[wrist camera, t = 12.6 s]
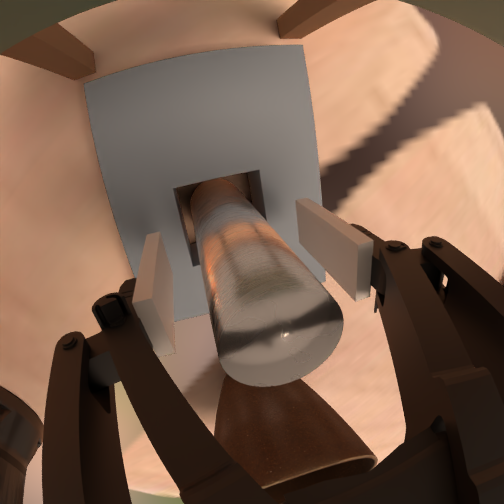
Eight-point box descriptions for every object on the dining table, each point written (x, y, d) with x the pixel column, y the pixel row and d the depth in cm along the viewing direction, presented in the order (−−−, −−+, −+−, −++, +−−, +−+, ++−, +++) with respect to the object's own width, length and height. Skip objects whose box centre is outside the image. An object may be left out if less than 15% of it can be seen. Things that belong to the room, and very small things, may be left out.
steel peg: (236, 173, 22) (345, 271, 8) (244, 221, 24) (340, 364, 10) (185, 185, 21) (202, 310, 7) (196, 232, 23) (232, 398, 9)
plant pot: (216, 318, 27) (259, 475, 13) (336, 338, 33) (408, 443, 18) (177, 407, 32) (195, 524, 17) (280, 414, 37) (319, 507, 23)
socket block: (306, 260, 27) (325, 281, 23) (156, 298, 25) (154, 326, 21) (282, 56, 19) (302, 44, 15) (99, 90, 17) (83, 83, 13)
